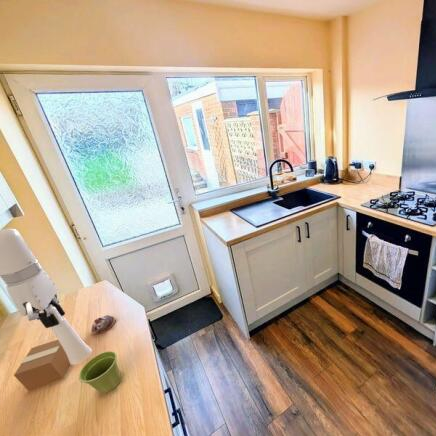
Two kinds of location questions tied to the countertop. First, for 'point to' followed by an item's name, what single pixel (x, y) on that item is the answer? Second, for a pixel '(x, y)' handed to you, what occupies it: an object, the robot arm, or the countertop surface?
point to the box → (43, 365)
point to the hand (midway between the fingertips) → (55, 320)
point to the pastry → (102, 324)
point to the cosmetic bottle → (69, 339)
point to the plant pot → (101, 372)
